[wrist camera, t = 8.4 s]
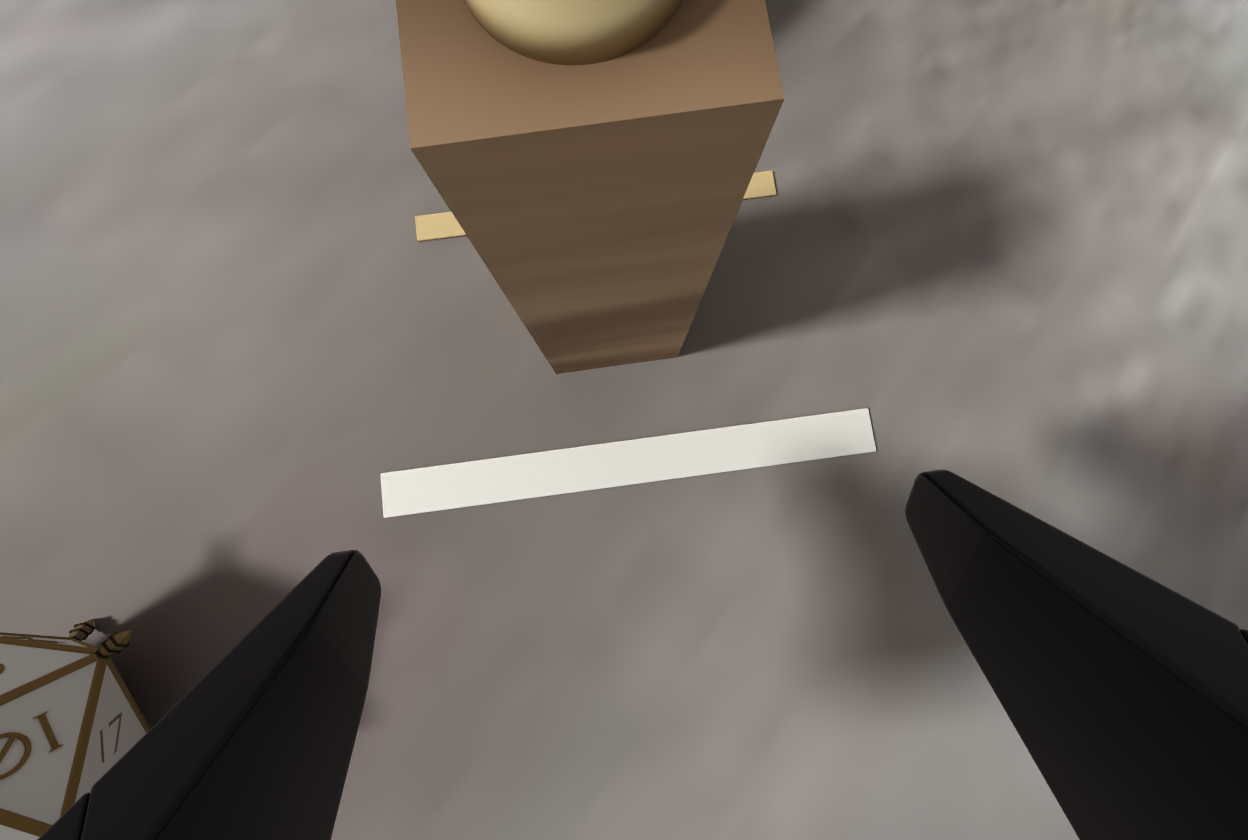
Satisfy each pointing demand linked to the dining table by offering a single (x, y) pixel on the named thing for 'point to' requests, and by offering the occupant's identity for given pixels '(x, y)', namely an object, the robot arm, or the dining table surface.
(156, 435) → the dining table surface
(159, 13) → the dining table surface
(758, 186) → the strip
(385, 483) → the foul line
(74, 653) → the game die
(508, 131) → the walnut block
